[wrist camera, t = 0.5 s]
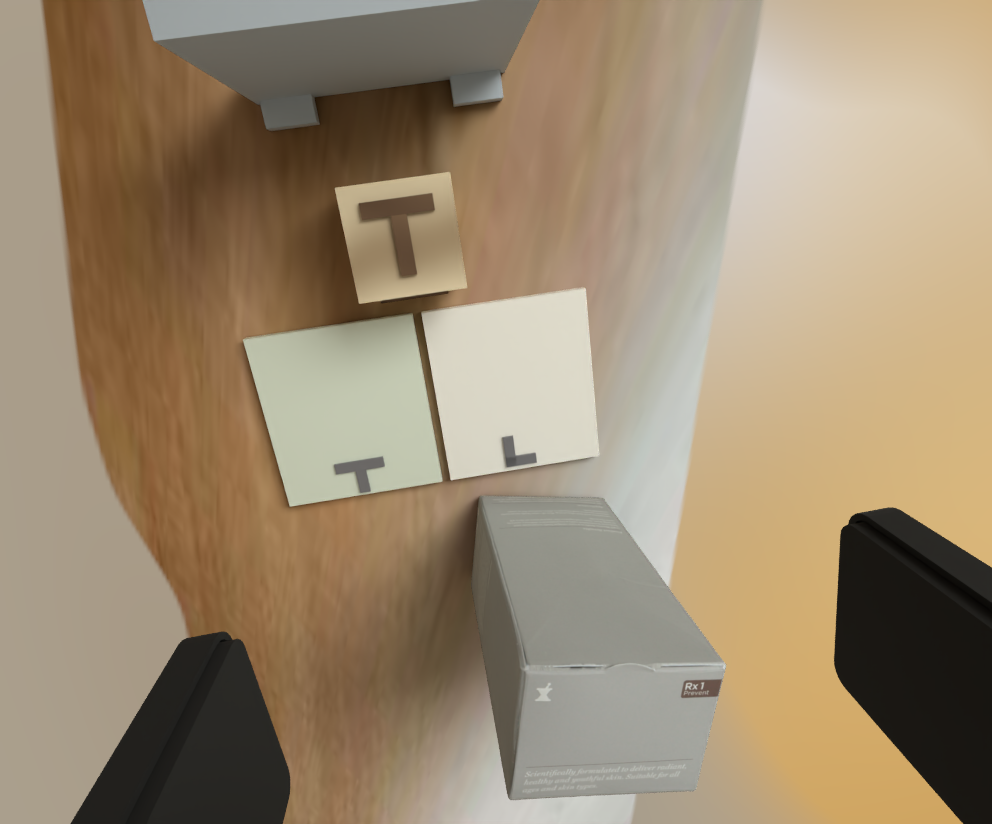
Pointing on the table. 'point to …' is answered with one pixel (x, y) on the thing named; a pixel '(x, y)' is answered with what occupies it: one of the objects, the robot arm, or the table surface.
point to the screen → (342, 47)
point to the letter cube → (402, 238)
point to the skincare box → (586, 654)
